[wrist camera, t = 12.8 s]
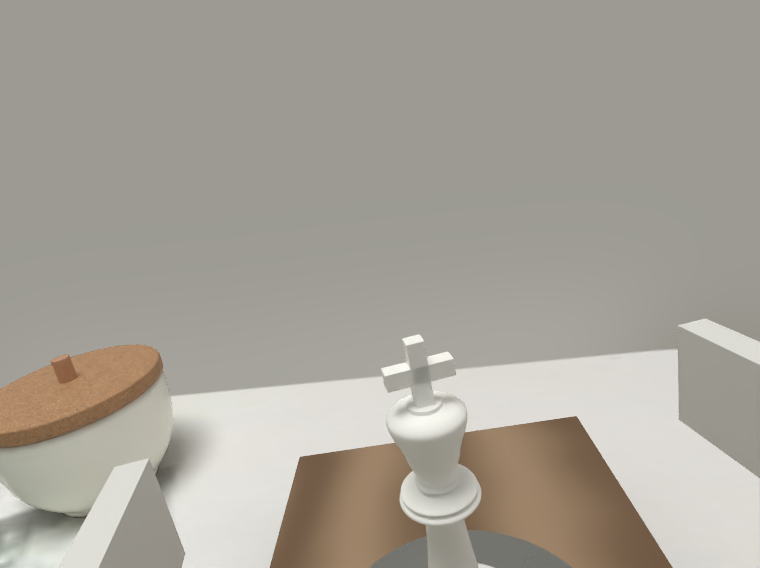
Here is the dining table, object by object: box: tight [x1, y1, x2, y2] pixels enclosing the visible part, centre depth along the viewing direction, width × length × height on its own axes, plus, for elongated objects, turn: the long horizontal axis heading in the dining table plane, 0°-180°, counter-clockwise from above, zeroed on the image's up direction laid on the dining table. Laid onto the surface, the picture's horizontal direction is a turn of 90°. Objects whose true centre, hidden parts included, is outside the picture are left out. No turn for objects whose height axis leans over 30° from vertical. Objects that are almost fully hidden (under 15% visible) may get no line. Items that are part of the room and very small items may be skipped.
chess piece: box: [381, 335, 494, 568], centre depth 13 cm, size 5×5×10 cm
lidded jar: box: [0, 345, 173, 517], centre depth 33 cm, size 11×11×9 cm
